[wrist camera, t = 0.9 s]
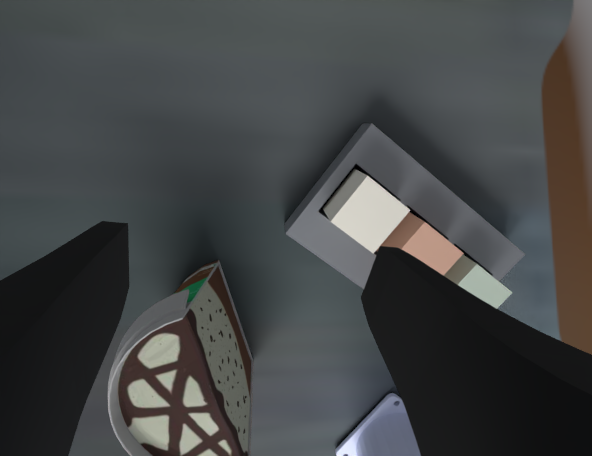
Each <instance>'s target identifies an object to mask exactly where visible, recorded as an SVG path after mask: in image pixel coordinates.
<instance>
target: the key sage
mask: <svg viewBox="0 0 592 456" xmlns="http://www.w3.org/2000/svg"><path fill="white" fill-rule="evenodd" d="M444 276H445V277H446V278H448V279H449V280H451V281H452V282H454V283H456V284H457V285H459V286H460V287H462V288H463V289H465V290H467V291H468V292H470V293H471V294H473V295H474V296H476V297H478V298H480V299H481V300H483V301H485V302H486V303H488V304H490V305H491V306H493V307H495V308H496V309H497V308H498V307H499V306H500V305H501V304H502V303H503V302H504V301H505V300H506V299H507V298H508V297H509V296H510V295H511V294H512V292H511V291H510V290H509V289H507V288H506V287H505V286H504V285H502V284H501V283H500V282H499V281H497V280H496V279H495V278H494V277H493V276H491V275H490V274H489V273H488V272H486V271H485V270H484V269H483V268H481V267H480V266H479V265H478V264H476V263H475V262H473V261H472V260H470V259H469V258H468V257H466V256H465V255H462V256H461V257H460V258H459V259H458V260H457V261H456V262H455V264H454V265H453V266H452V267H451V268H450V269H449V270H448V271H447V272H446V273H445V274H444Z"/></svg>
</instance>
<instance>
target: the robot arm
mask: <svg viewBox="0 0 592 456" xmlns="http://www.w3.org/2000/svg"><path fill="white" fill-rule="evenodd" d="M128 289H129V251H128V223H116V222H105V221H102V222H100V223H98V224H96V225H95V226H93V227H91V228H90V229H88V230H87V231H85V232H83V233H82V234H80V235H79V236H77V237H75V238H74V239H72V240H71V241H69V242H67V243H66V244H64V245H62V246H61V247H59V248H58V249H56V250H54V251H53V252H51V253H49V254H48V255H46V256H44V257H43V258H41V259H39V260H37V261H35V262H34V263H32V264H30V265H28V266H26V267H24V268H23V269H21V270H19V271H17V272H15V273H13V274H12V275H10V276H8V277H6V278H4V279H2V280H1V281H0V456H68V454H69V451H70V448H71V445H72V442H73V438H74V435H75V432H76V429H77V425H78V422H79V419H80V416H81V413H82V411H83V408H84V405H85V403H86V400H87V397H88V395H89V393H90V390H91V388H92V386H93V383H94V381H95V379H96V376H97V374H98V371H99V369H100V367H101V364H102V362H103V360H104V357H105V355H106V353H107V350H108V348H109V345H110V343H111V341H112V338H113V336H114V333H115V331H116V329H117V326H118V324H119V321H120V319H121V315H122V311H123V308H124V304H125V301H126V297H127V293H128ZM361 300H362V304H363V307H364V311H365V315H366V318H367V321H368V324H369V327H370V330H371V332H372V334H373V336H374V339H375V341H376V343H377V345H378V348H379V350H380V352H381V354H382V357H383V359H384V361H385V363H386V365H387V367H388V370H389V372H390V374H391V376H392V378H393V381H394V383H395V385H396V387H397V389H398V392H399V394H400V396H401V397H399V396H397V395H396V394H394V393H390V394H388V395H387V396H386V397H385V398H384V399H383V400H382V401H381V402H380V403H379V404H378V405H377V406H376V407H375V408H374V409H373V411H372V412H371V413H370V414H369V415H368V416H367V417H366V418H365V419H364V420H363V421H362V422H361V423H360V424H359V425H358V426H357V427H356V428H355V429H354V430H353V431H352V432H351V433H350V435H349V436H348V437H347V438H346V439H345V440H344V441H343V442H342V443H341V444H340V445H339V446H338V447H337V448H336V451H335V452H336V455H337V456H592V355H591V354H589V353H586V352H584V351H581V350H579V349H577V348H575V347H572V346H570V345H568V344H565V343H564V342H561V341H559V340H557V339H555V338H552V337H550V336H548V335H546V334H544V333H542V332H540V331H538V330H536V329H534V328H532V327H530V326H528V325H526V324H524V323H522V322H520V321H518V320H516V319H515V318H513V317H511V316H509V315H507V314H505V313H503V312H502V311H500V310H498V309H496V308H495V307H493V306H491V305H490V304H488V303H486V302H485V301H483V300H481V299H480V298H478V297H476V296H474V295H473V294H471V293H470V292H468V291H467V290H465V289H463V288H462V287H460V286H459V285H457V284H456V283H454V282H452V281H451V280H449V279H448V278H446V277H445V276H443V275H442V274H440V273H439V272H437V271H436V270H434V269H433V268H431V267H430V266H428V265H427V264H425V263H424V262H422V261H420V260H419V259H417V258H416V257H414V256H412V255H411V254H409V253H407V252H405V251H404V250H402V249H400V248H397V247H386V246H380V247H379V250H378V252H377V255H376V258H375V261H374V263H373V266H372V269H371V271H370V274H369V277H368V280H367V282H366V285H365V288H364V290H363V293H362V296H361ZM396 401H398V402H396ZM394 402H396V403H394ZM344 454H345V455H344Z"/></svg>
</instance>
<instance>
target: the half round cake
mask: <svg viewBox="0 0 592 456" xmlns="http://www.w3.org/2000/svg"><path fill="white" fill-rule="evenodd" d="M252 390H253V358H252V355H251V352H250V349H249V346H248V343H247V341H246V338H245V335H244V332H243V329H242V326H241V323H240V320H239V317H238V314H237V311H236V308H235V305H234V302H233V299H232V296H231V293H230V290H229V288H228V285H227V282H226V279H225V276H224V273H223V270H222V267H221V264H220V261H219V260H217V261H214V262H211V263H208V264H205V265H204V266H202V267H201V268H199V269H198V270H197V271H195V272H194V273H192V274H191V275H189V276H188V278H187V279H186V280H185V281H184V282H183V283H182V285H181V286H180V287H179V288H178V289H177V290H176V292H175V293H174V294H173V295H171V296H169V297H167V298H165V299H163V300H161V301H159V302H157V303H156V304H154V305H153V306H152V307H150V308H149V309H148V310H146V311H145V312H144V313H142V314H141V315H140V316H139V318H138V319H137V320H136V321H135V322H134V323H133V324H132V325H131V326H130V328H129V329H128V331H127V332H126V334H125V335H124V337H123V338H122V341H121V343H120V346H119V348H118V350H117V353H116V356H115V359H114V362H113V365H112V369H111V373H110V377H109V382H108V411H109V416H110V421H111V424H112V427H113V429H114V432H115V434H116V437H117V438H118V440H119V441H120V443H121V444H122V446H123V448H124V449H125V450H126V451H127V452H128V453H129V455H130V456H250V450H251V420H252Z"/></svg>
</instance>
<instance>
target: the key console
mask: <svg viewBox="0 0 592 456" xmlns="http://www.w3.org/2000/svg"><path fill="white" fill-rule="evenodd" d="M354 165H356V166H357V167H358V168H359V169H360V170H362V171H363V172H364V173H365V174H367V175H368V176H369V177H370V178H372V179H373V180H374V181H375V182H377V183H378V184H379V185H380V186H382V187H383V188H384V189H385V190H386V191H388V192H389V193H390V194H391V195H392V196H393V197H395V198H396V199H397V200H398V201H400V202H401V203H402V204H403V205H405V206H406V207H407V208H409V209H410V210H411V211H412V212H414V213H415V214H416V215H417V216H419V217H420V218H421V219H422V220H424V221H425V222H426V223H427V224H429V225H430V226H431V227H432V228H433V229H434V230H436V231H437V232H438V233H439V234H441V235H442V236H443V237H444V238H445V239H447V240H448V241H449V242H450V243H452V244H453V245H455V246H456V247H457V248H458V249H459V250H461V251H462V252H463V253H464V254H466V255H467V256H468V257H469V258H471V259H472V260H473V261H474V262H475V263H476V264H478V265H479V266H480V267H481V268H483V269H484V270H485V271H486V272H488V273H489V274H490V275H491V276H493V277H494V278H495V279H496V280H497V281H500V280H501V279H502V278H503V277H504V276H505V275H506V274H507V273H508V272H509V271H510V270H511V269H512V268H513V267H514V266H515V265H516V264H517V263H518V262H519V261H520V260H521V259H522V258H523V256H524V255H525V254H524V253H523V252H522V251H521V250H520V249H519V248H517V247H516V246H515V245H514V244H513V243H512V242H510V241H509V240H508V239H507V238H506V237H505V236H503V235H502V234H501V233H500V232H499V231H498V230H496V229H495V228H494V227H493V226H492V225H491V224H489V223H488V222H487V221H486V220H485V219H483V218H482V217H481V216H480V215H479V214H478V213H476V212H475V211H474V210H473V209H472V208H471V207H469V206H468V205H467V204H466V203H465V202H464V201H462V200H461V199H460V198H459V197H458V196H457V195H455V194H454V193H453V192H452V191H451V190H450V189H448V188H447V187H446V186H445V185H444V184H442V183H441V182H440V181H439V180H438V179H437V178H435V177H434V176H433V175H432V174H431V173H430V172H428V171H427V170H426V169H425V168H424V167H423V166H421V165H420V164H419V163H418V162H417V161H416V160H414V159H413V158H412V157H411V156H410V155H409V154H407V153H406V152H405V151H404V150H403V149H401V148H400V147H399V146H398V145H397V144H396V143H394V142H393V141H392V140H391V139H390V138H389V137H387V136H386V135H385V134H384V133H383V132H382V131H380V130H379V129H378V128H377V127H376V126H375V125H373V124H372V123H363V124H362V125H361V126H360V127H359V128H358V130H357V131H356V132H355V134H354V135H353V136H352V137H351V139H350V140H349V141H348V143H347V144H346V145H345V146H344V148H343V149H342V150H341V152H340V153H339V154H338V155H337V157H336V158H335V159H334V161H333V162H332V163H331V164H330V166H329V167H328V168H327V170H326V171H325V172H324V173H323V175H322V176H321V177H320V179H319V180H318V181H317V182H316V184H315V185H314V186H313V188H312V189H311V190H310V191H309V193H308V194H307V195H306V197H305V198H304V199H303V200H302V202H301V203H300V204H299V206H298V207H297V208H296V209H295V211H294V212H293V213H292V215H291V216H290V217H289V218H288V220H287V221H286V222H285V224H284V225H285V234H287V235H288V236H289V237H291V238H292V239H294V240H295V241H296V242H298V243H299V244H301V245H302V246H304V247H305V248H306V249H308V250H309V251H311V252H312V253H313V254H315V255H316V256H318V257H319V258H320V259H322V260H323V261H325V262H326V263H327V264H329V265H330V266H332V267H333V268H334V269H336V270H337V271H339V272H340V273H341V274H343V275H344V276H346V277H347V278H348V279H350V280H351V281H353V282H354V283H355V284H357V285H358V286H360V287H361V288H362V289H364V288H365V285H366V282H367V280H368V277H369V274H370V271H371V269H372V266H373V263H374V261H375V258H376V255H377V251H375V252H374V254H373V253H372V252H370V251H369V250H368V249H366V248H365V247H364V246H362V245H361V244H360V243H358V242H357V241H356V240H354V239H353V238H352V237H350V236H349V235H348V234H346V233H345V232H344V231H342V230H341V229H340V228H338V227H337V226H336V225H334V224H333V223H332V222H330V220H329V218H328V217H327V215H326V213H325V212H324V211H323V210H321V209H320V208H321V207H322V206H323V204H324V203H325V202H326V201H327V199H328V198H329V197H330V196H331V194H332V193H333V192H334V190H335V189H336V188H337V187H338V185H339V184H340V183H341V182H342V180H343V179H344V178H345V177H346V175H347V174H348V173H349V172H350V170H351V169H352V168H353V167H354Z"/></svg>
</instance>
